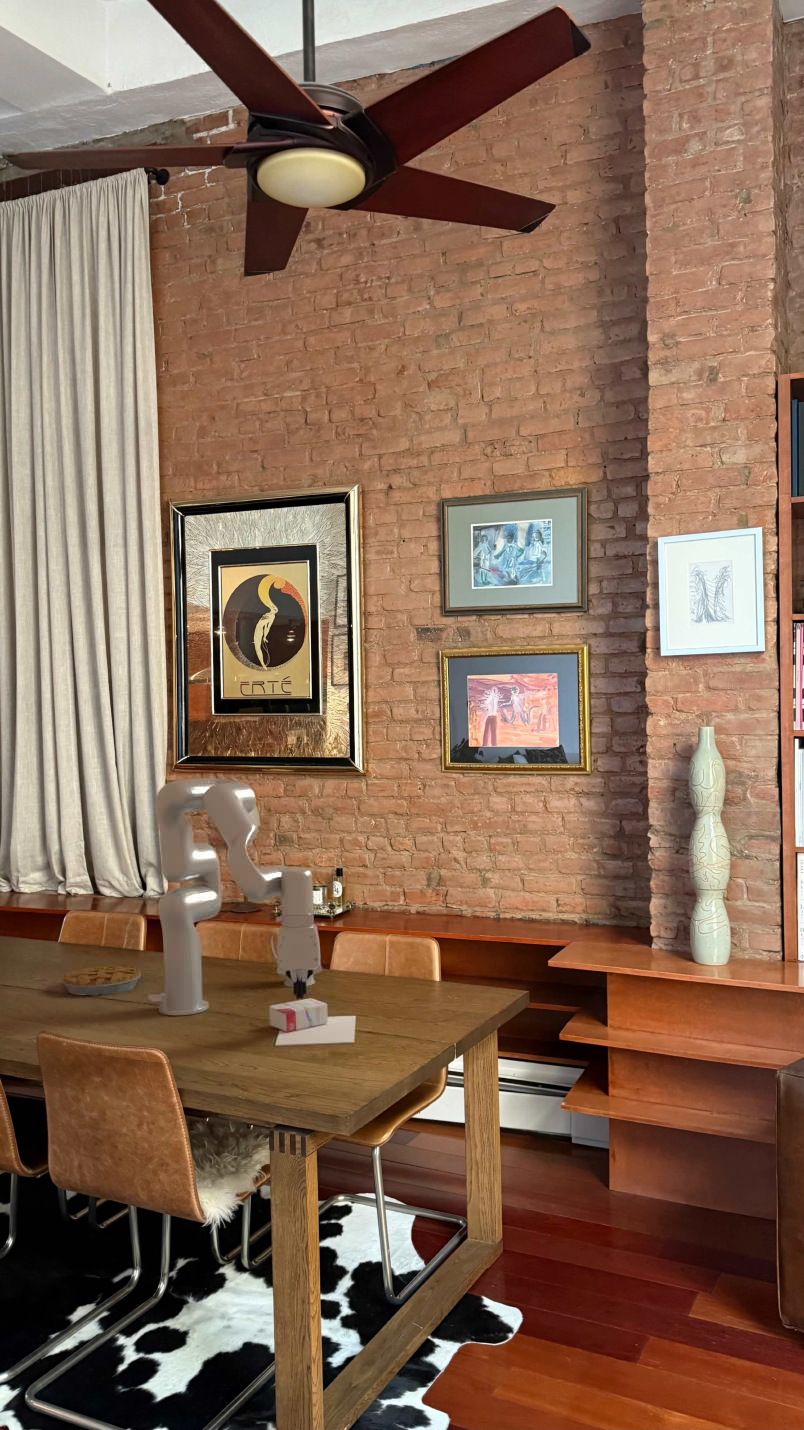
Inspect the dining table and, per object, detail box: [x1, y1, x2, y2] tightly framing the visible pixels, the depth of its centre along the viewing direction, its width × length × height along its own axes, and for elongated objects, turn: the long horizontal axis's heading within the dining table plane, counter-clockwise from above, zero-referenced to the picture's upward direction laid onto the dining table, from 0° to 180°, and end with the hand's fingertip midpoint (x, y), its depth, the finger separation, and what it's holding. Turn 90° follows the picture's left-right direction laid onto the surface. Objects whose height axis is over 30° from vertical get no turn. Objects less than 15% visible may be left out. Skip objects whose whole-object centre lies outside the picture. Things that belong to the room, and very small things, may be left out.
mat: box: [275, 1015, 357, 1047], centre depth 261 cm, size 18×22×1 cm
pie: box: [61, 964, 142, 996], centre depth 311 cm, size 22×22×5 cm
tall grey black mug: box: [270, 932, 316, 988], centre depth 311 cm, size 9×14×15 cm, turn 58°
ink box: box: [268, 997, 328, 1033], centre depth 265 cm, size 9×5×12 cm
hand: (300, 997), depth 261 cm, fingers closed
